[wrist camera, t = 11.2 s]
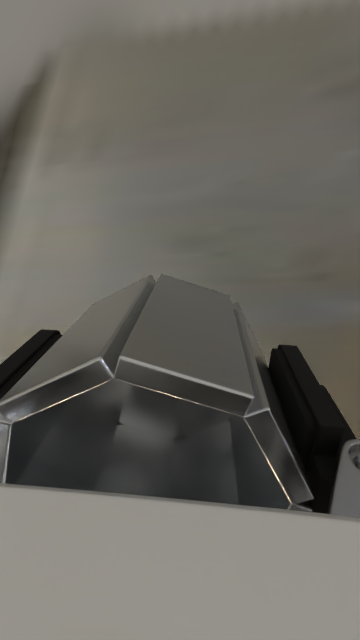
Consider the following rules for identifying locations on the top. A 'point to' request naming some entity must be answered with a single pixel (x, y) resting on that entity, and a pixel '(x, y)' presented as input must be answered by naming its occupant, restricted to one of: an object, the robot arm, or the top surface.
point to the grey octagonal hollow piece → (155, 405)
